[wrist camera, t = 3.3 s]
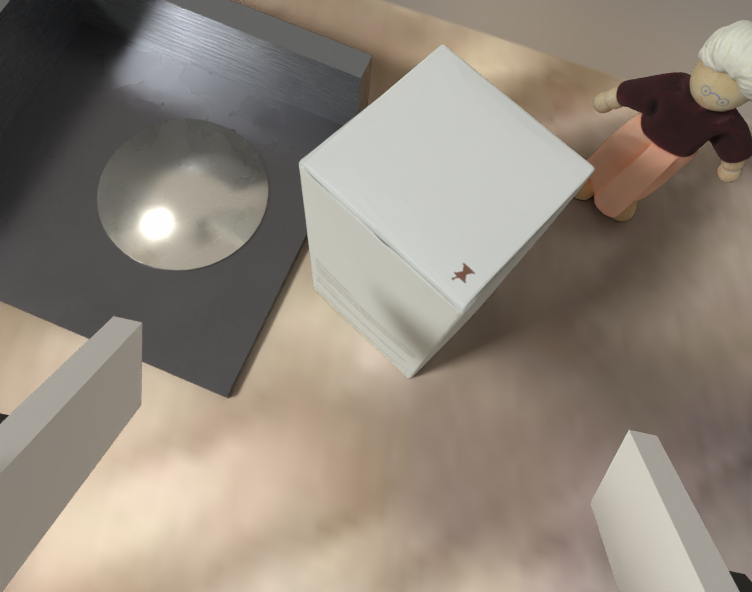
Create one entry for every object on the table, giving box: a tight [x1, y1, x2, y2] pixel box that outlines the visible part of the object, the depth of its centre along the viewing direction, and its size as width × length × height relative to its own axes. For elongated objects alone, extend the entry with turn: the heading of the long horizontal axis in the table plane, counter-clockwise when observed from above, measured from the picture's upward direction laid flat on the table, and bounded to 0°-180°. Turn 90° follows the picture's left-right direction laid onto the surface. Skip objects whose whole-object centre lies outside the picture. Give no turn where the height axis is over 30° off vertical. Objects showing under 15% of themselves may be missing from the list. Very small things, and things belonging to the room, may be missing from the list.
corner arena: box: [0, 0, 372, 398], centre depth 29 cm, size 19×18×5 cm
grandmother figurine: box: [574, 20, 752, 221], centre depth 27 cm, size 8×4×13 cm, turn 68°
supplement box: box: [299, 44, 595, 379], centre depth 25 cm, size 7×7×13 cm
